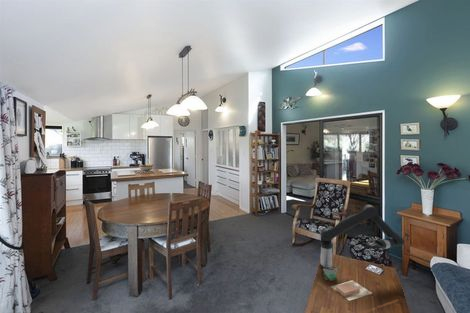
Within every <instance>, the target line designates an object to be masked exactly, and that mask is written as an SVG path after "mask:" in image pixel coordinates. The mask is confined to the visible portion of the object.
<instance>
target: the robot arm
mask: <svg viewBox="0 0 470 313" xmlns="http://www.w3.org/2000/svg"><path fill="white" fill-rule="evenodd" d="M362 209H363V210H361V211H360V212H358V213H356V214H355V213H354V214H352V215H349V216H346V217H345V218H343V219H342V220H340V221H339V222H338V223H337V224H336V225H335V226H334V227H332V228H327V227H324V228H322V229H321V231H320V256H319V257H320V262H319V263H320V265H321V266H322V268H325V269H327V268H333V243H332V240H333V239H335V238H336V237H338V236H339V235H340V234H343V233H344V232H347V231H348V230H350V229H352V228H354V227H355V226H357V225H359V224H361V223H362V222H364V221H367V220H369V219H371V220H372V221H373V222H374V223H375V225H377V227H378V228H379V229H380V230H381V232H382V233H383V234H384V235H385V237H387V238H381V239H376V240H374V241H372V242H370V241H368V240H367V243H366V244H367V245H365V249H366V250H370V249H371V250H375V251H383V250H387V249H390V248H393V247H399V246H404V244H405V240H404V237H402V236H401V235H400V234H398V233H397V232H396V231H394V230H393V229H392V228H391V226H390V225H389V224H388V223H387V221H385V220H383V218H382V217H381V216H380V215H379V213H378V209H377V208H376V207H375V206H374V205H371V204H365V205H364V206H363V208H362Z"/></svg>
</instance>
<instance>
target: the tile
mask: <svg viewBox="0 0 470 313" xmlns="http://www.w3.org/2000/svg"><path fill="white" fill-rule="evenodd" d="M337 285H338V284H337ZM336 290H337V291H338V292H340V293H341V294H342V295H344V296H348V295H351V294H354V293H357V292H360V288H358V287H357V286H355V285H354V284H352V283H351V282H349V283H345V284H342V285H338V286H336ZM336 290H335V291H336ZM337 291H336V292H337ZM338 292H337V293H338ZM340 293H339V294H340ZM341 294H340V295H341ZM342 295H341V296H342ZM344 296H343V297H344Z"/></svg>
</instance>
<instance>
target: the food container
mask: <svg viewBox="0 0 470 313" xmlns="http://www.w3.org/2000/svg"><path fill="white" fill-rule="evenodd" d="M322 271H323V275H324V279H325V280H326V281H330V282H335V281H337V277H338V276H337V275H338V272H339V269H338V267H337V265H335V267H331V268H325V267H323V269H322Z"/></svg>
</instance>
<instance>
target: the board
mask: <svg viewBox="0 0 470 313" xmlns="http://www.w3.org/2000/svg"><path fill="white" fill-rule="evenodd" d="M349 282H351V283H352V284H354V285H355V286H357V287H358V288H360V292H357V293H354V294H351V295H348V296H344V295H342V294H341V293H340V292H338V291H337V290H336V286H338V285H342V284H345V283H349ZM330 288H332V289H333V290H334V291H336V292H337V293H338V294H339V295H341V296H342V297H343V298H345V299H347V300H348V301H349V302H350V301H353V300H356V299H359V298H364V297H365V296H368V295H371V294H373V292H372V291H370V290H368V289H367V288H366V287H364V286H363V285H361V284H359V283H358V282H356V281H355V280H353V279H352V280H349V281H345V282H341V283H338V284H335V285H331V286H330Z"/></svg>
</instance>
